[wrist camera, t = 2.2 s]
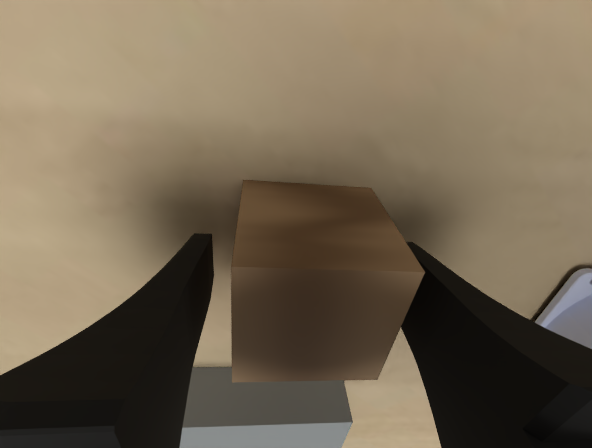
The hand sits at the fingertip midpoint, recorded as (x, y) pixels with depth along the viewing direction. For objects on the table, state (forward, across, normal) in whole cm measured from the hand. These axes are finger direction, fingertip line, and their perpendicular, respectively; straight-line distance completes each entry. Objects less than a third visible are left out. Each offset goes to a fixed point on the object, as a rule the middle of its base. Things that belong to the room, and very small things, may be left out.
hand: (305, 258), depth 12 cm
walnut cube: (+2, 0, 0) cm, 2 cm away
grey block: (+2, +1, +14) cm, 14 cm away
